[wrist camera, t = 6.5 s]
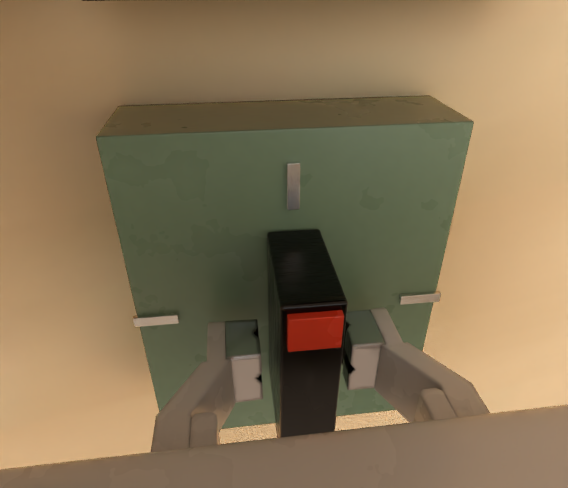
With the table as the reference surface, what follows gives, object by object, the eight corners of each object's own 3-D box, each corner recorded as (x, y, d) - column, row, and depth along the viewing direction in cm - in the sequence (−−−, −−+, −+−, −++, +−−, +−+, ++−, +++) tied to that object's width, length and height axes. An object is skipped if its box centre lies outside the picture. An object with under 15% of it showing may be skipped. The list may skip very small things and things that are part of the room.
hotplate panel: (388, 355, 21) (413, 411, 18) (169, 376, 20) (161, 439, 17) (433, 95, 15) (481, 122, 12) (115, 105, 14) (89, 138, 11)
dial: (312, 369, 16) (334, 464, 13) (269, 372, 16) (281, 470, 13) (319, 227, 13) (351, 308, 10) (266, 230, 13) (281, 314, 10)
